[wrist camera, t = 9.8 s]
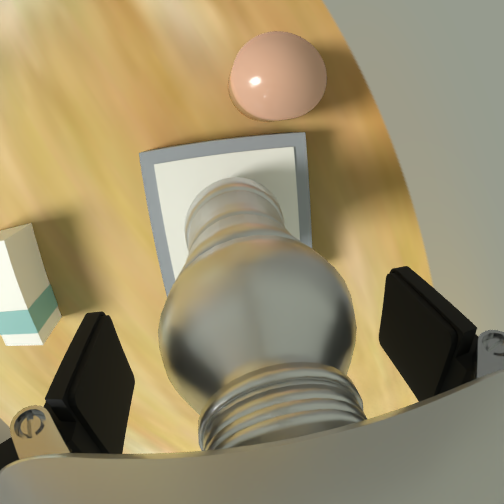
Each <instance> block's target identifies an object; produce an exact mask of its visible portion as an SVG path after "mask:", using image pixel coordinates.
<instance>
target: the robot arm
mask: <svg viewBox="0 0 504 504" xmlns="http://www.w3.org/2000/svg"><path fill="white" fill-rule="evenodd" d="M476 329H477V327H476V326H475V325H474V324H473V323H472V322H471V321H470V320H469V319H467V318H466V317H465V316H464V315H463V314H462V313H461V312H460V311H459V310H458V309H456V308H455V307H454V306H453V305H452V304H451V303H450V302H449V301H448V300H446V299H445V298H444V297H443V296H442V295H441V294H440V293H438V292H437V291H436V290H435V289H434V288H433V287H432V286H430V285H429V284H428V283H427V282H426V281H425V280H423V279H422V278H421V277H420V276H419V275H418V274H416V273H415V272H414V271H413V270H412V269H410V268H409V267H407V266H404V267H399V268H394V269H392V270H391V271H390V274H387V276H386V283H385V293H384V302H383V310H382V317H381V325H380V332H379V342H380V345H381V346H382V348H383V349H384V351H385V352H386V354H387V355H388V356H389V358H390V359H391V361H392V362H393V364H394V365H395V367H396V368H397V369H398V371H399V372H400V374H401V375H402V377H403V378H404V380H405V381H406V383H407V384H408V386H409V387H410V389H411V390H412V392H413V393H414V395H415V396H416V398H417V399H418V401H419V402H417V403H415V404H412V405H409V406H407V407H404V408H401V409H398V410H395V411H392V412H389V413H386V414H383V415H380V416H377V417H374V418H370V419H367V420H364V421H360V422H357V423H353V424H349V425H346V426H342V427H338V428H334V429H330V430H326V431H322V432H318V433H314V434H309V435H305V436H300V437H295V438H290V439H285V440H280V441H274V442H268V443H262V444H256V445H249V446H242V447H234V448H226V449H217V450H207V451H195V452H181V453H157V454H122V451H123V445H124V439H125V433H126V427H127V422H128V416H129V411H130V405H131V400H132V395H133V390H134V385H135V380H134V375H133V373H132V370H131V368H130V366H129V363H128V361H127V358H126V356H125V354H124V351H123V349H122V346H121V344H120V341H119V338H118V336H117V333H116V331H115V328H114V325H113V322H112V320H111V317H110V316H109V315H105V313H104V312H93V313H87V314H86V315H85V317H84V319H83V321H82V322H81V324H80V326H79V328H78V330H77V332H76V334H75V336H74V338H73V340H72V342H71V344H70V346H69V348H68V350H67V352H66V354H65V356H64V358H63V360H62V362H61V364H60V366H59V369H58V371H57V373H56V375H55V377H54V379H53V382H52V384H51V386H50V388H49V390H48V393H47V395H46V397H45V400H46V403H45V405H44V407H42V406H37V405H34V406H28V407H26V408H23V409H22V410H21V411H19V412H18V413H17V414H16V415H15V416H14V418H13V419H12V421H11V425H10V433H11V436H12V437H11V438H9V439H8V440H6V441H5V442H3V443H1V444H0V504H504V332H501V331H498V330H488V331H485V332H483V333H481V334H480V336H479V337H478V336H477V335H476V334H475V333H476Z"/></svg>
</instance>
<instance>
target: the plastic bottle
mask: <svg viewBox="0 0 504 504" xmlns="http://www.w3.org/2000/svg"><path fill="white" fill-rule="evenodd" d="M184 233H185V239H186V245H187V249H188V257H187V260H186V263H185V265H184V267H183V268H182V270H181V272H180V274H179V275H178V277H177V279H176V281H175V283H174V284H173V286H172V288H171V290H170V293H169V295H168V297H167V300H166V302H165V305H164V308H163V311H162V313H161V317H160V323H159V329H158V337H159V348H160V352H161V356H162V360H163V363H164V367H165V369H166V372H167V375H168V378H169V380H170V382H171V383H172V385H173V386H174V388H175V389H176V391H177V392H178V393H179V394H180V395H181V396H182V398H183V399H184V400H185V401H186V402H187V403H188V404H189V405H190V406H191V407H192V408H193V409H194V410H195V411H196V412H197V413H198V414H199V415H200V417H199V420H198V434H199V445H200V448H201V450H202V451H207V450H217V449H226V448H234V447H242V446H249V445H256V444H262V443H268V442H274V441H280V440H285V439H290V438H295V437H300V436H305V435H309V434H314V433H318V432H322V431H326V430H330V429H334V428H338V427H342V426H346V425H349V424H353V423H357V422H360V421H364V420H367V418H366V416H365V414H364V412H363V402H362V399H361V397H360V395H359V393H358V391H357V389H356V387H355V386H354V384H353V382H352V380H351V379H350V378H349V377H348V376H347V372H348V369H349V366H350V363H351V359H352V355H353V351H354V347H355V341H356V330H357V327H356V321H355V314H354V309H353V304H352V298H351V294H350V292H349V290H348V288H347V285H346V283H345V281H344V279H343V278H342V277H341V275H340V274H339V273H338V272H337V270H336V269H335V268H334V267H333V266H332V265H331V264H330V263H329V262H328V261H327V260H326V259H325V258H324V257H322V256H321V255H320V254H319V253H317V252H316V251H315V250H313V249H312V248H311V247H309V246H307V245H306V244H304V243H303V242H301V241H300V240H298V239H297V238H295V237H294V236H292V235H291V234H290V233H289V232H288V230H287V229H286V228H285V224H284V218H283V215H282V211H281V208H280V205H279V203H278V201H277V199H276V197H275V196H274V195H273V194H272V193H271V191H270V190H269V189H267V188H266V187H265V186H263V185H262V184H260V183H258V182H256V181H254V180H251V179H247V178H239V177H232V178H226V179H222V180H219V181H217V182H214V183H212V184H210V185H209V186H207V187H206V188H204V189H203V190H202V191H201V192H200V193H199V194H198V195H197V196H196V197H195V199H194V200H193V202H192V203H191V205H190V207H189V209H188V211H187V214H186V219H185V228H184Z"/></svg>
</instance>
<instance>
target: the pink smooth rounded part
mask: <svg viewBox="0 0 504 504" xmlns="http://www.w3.org/2000/svg"><path fill="white" fill-rule="evenodd" d="M326 84H327V72H326V67H325V64H324V61H323V59H322V57H321V55H320V54H319V52H318V51H317V50H316V49H315V47H314V46H312V45H311V44H310V43H309V42H308V41H306V40H305V39H303V38H301V37H299V36H297V35H295V34H291V33H288V32H280V31H274V32H267V33H263V34H260V35H258V36H256V37H254V38H252V39H251V40H249V41H248V42H247V43H246V44H245V45H244V46H243V47H242V48H241V49H240V51H239V52H238V54H237V56H236V58H235V61H234V64H233V67H232V70H231V73H230V77H229V81H228V91H229V95H230V98H231V100H232V102H233V104H234V106H235V107H236V108H237V109H238V110H239V111H240V112H241V113H242V114H243V115H245V116H246V117H248V118H250V119H253V120H256V121H261V122H272V121H278V120H285V119H292V118H296V117H299V116H302V115H304V114H306V113H307V112H309V111H310V110H312V109H313V108H314V107H315V106H316V105H317V104H318V103H319V101H320V100H321V98H322V96H323V94H324V92H325V89H326Z"/></svg>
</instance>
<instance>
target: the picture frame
mask: <svg viewBox="0 0 504 504" xmlns="http://www.w3.org/2000/svg"><path fill="white" fill-rule="evenodd" d="M139 157H140V164H141V170H142V176H143V183H144V188H145V194H146V200H147V205H148V211H149V216H150V221H151V226H152V231H153V236H154V241H155V246H156V251H157V255H158V260H159V264H160V269H161V273H162V278H163V282H164V286H165V290H166V294H167V297H168V295H169V293H170V290H171V288H172V286H173V284H174V283H175V281H176V279H177V277H178V275H179V274H180V272H181V270H182V268H183V267H184V265H185V263H186V260H187V257H188V249H187V245H186V239H185V233H184V228H185V219H186V214H187V211H188V209H189V207H190V205H191V203H192V202H193V200H194V199H195V197H196V196H197V195H198V194H199V193H200V192H201V191H202V190H203V189H204V188H206V187H207V186H209V185H210V184H212V183H214V182H217V181H219V180H222V179H226V178H232V177H239V178H247V179H251V180H254V181H256V182H258V183H260V184H262V185H263V186H265V187H266V188H267V189H269V190H270V191H271V193H272V194H273V195H274V196H275V197H276V199H277V201H278V203H279V205H280V208H281V211H282V215H283V218H284V224H285V228H286V229H287V230H288V232H289V233H290V234H291V235H292V236H294V237H295V238H297V239H298V240H300V241H301V242H303V243H304V244H306V245H307V246H309V247H311V248H312V231H311V210H310V192H309V176H308V161H307V148H306V135H305V132H288V133H275V134H263V135H253V136H243V137H234V138H226V139H218V140H210V141H203V142H196V143H189V144H183V145H177V146H170V147H165V148H159V149H153V150H148V151H144V152H141V153H139Z"/></svg>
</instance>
